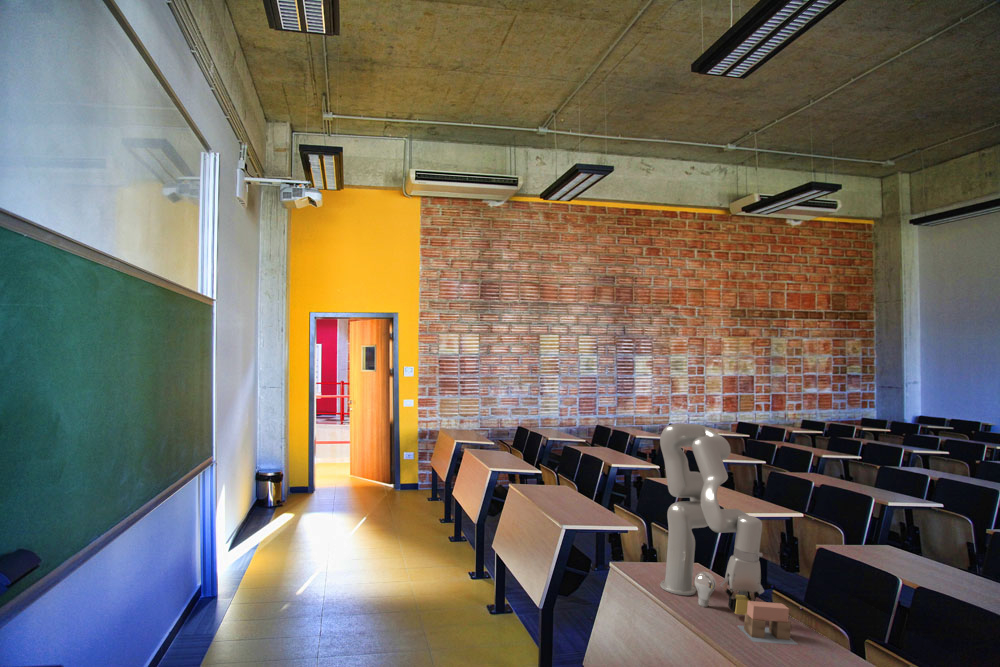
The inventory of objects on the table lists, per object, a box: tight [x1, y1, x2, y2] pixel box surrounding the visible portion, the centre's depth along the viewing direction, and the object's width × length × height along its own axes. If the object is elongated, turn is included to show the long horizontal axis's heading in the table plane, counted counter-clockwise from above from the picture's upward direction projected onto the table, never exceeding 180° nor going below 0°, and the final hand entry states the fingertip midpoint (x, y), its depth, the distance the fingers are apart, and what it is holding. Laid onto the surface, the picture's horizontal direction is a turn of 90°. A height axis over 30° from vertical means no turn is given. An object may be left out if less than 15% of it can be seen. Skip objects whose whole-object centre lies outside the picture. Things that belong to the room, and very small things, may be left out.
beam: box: [747, 600, 790, 622], centre depth 187 cm, size 11×4×4 cm, turn 92°
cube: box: [733, 594, 750, 616], centre depth 198 cm, size 4×4×4 cm
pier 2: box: [768, 620, 792, 640], centre depth 187 cm, size 5×4×5 cm
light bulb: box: [693, 571, 717, 608], centre depth 206 cm, size 7×7×12 cm
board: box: [736, 624, 799, 646], centre depth 186 cm, size 11×14×1 cm
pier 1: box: [743, 613, 766, 638], centre depth 186 cm, size 5×4×5 cm
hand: (739, 610), depth 198 cm, fingers closed on cube, 4 cm apart
